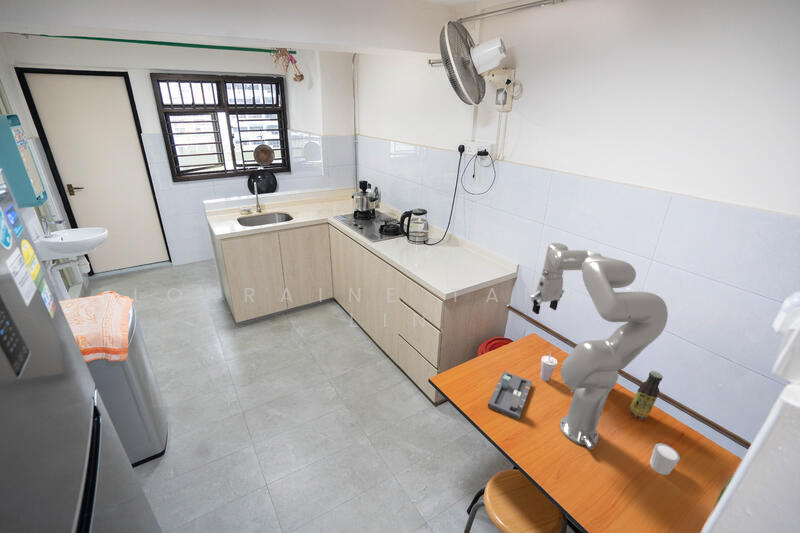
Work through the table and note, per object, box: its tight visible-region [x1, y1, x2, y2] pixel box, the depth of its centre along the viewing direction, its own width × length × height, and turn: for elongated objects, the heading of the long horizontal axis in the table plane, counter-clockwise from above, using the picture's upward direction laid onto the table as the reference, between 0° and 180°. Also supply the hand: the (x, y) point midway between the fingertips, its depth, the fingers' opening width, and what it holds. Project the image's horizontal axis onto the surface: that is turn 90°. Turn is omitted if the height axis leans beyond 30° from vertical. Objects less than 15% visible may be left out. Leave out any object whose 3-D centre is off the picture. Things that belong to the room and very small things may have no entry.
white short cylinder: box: [649, 443, 681, 476], centre depth 118 cm, size 7×7×7 cm
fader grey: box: [510, 390, 521, 410], centre depth 137 cm, size 2×3×7 cm
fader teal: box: [501, 375, 511, 390], centre depth 147 cm, size 2×3×5 cm
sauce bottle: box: [628, 370, 663, 421], centre depth 136 cm, size 7×6×20 cm
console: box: [487, 371, 533, 421], centre depth 146 cm, size 22×12×2 cm, turn 150°
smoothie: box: [540, 351, 558, 382], centre depth 154 cm, size 6×6×14 cm
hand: (544, 310), depth 153 cm, fingers open, 9 cm apart
